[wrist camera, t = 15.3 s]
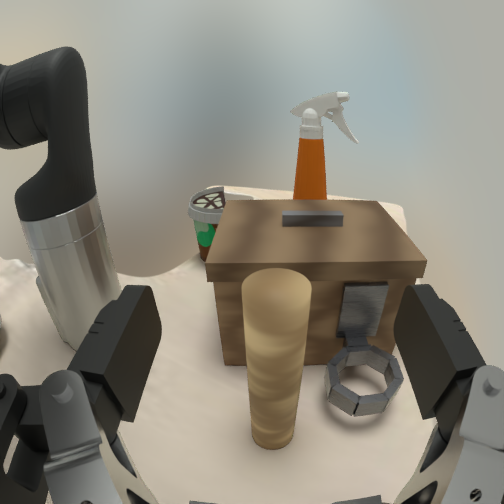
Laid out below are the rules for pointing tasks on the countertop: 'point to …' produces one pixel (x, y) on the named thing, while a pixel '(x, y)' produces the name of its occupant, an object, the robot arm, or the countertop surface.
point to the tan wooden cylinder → (275, 350)
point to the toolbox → (310, 264)
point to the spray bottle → (316, 143)
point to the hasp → (361, 349)
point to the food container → (206, 216)
